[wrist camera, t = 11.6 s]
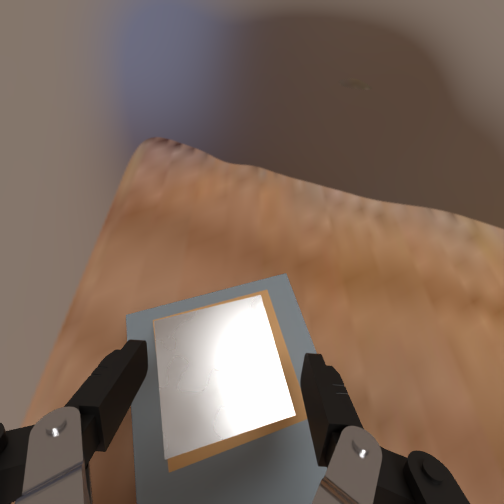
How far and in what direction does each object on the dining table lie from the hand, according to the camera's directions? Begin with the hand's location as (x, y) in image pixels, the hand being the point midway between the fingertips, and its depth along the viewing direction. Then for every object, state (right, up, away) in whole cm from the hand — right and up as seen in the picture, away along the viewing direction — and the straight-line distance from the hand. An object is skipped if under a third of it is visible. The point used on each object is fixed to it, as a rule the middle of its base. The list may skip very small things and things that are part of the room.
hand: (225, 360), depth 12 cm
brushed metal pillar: (0, -3, +6) cm, 7 cm away
